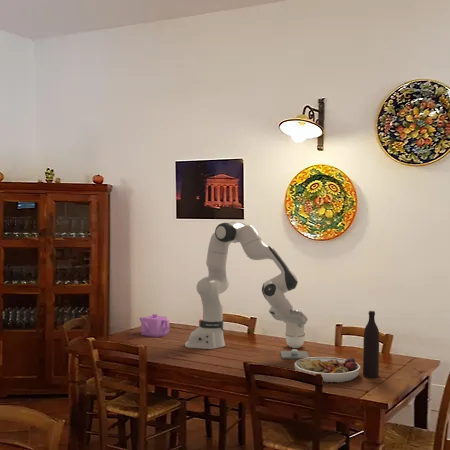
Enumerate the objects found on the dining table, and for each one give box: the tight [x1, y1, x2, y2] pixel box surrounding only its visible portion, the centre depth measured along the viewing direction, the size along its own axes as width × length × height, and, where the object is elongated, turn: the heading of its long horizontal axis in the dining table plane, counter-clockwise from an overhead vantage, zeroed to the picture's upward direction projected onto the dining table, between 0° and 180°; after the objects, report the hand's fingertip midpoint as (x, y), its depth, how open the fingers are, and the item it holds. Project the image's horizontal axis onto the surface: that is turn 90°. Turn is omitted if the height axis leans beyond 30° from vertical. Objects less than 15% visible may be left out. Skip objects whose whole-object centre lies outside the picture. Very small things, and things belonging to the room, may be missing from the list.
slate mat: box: [280, 348, 310, 360], centre depth 316 cm, size 14×14×3 cm
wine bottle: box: [362, 310, 380, 379], centre depth 279 cm, size 7×7×30 cm
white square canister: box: [285, 322, 305, 337], centre depth 316 cm, size 7×7×11 cm
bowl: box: [294, 356, 361, 383], centre depth 281 cm, size 30×30×8 cm
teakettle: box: [139, 313, 170, 338], centre depth 367 cm, size 17×17×12 cm
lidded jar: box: [285, 332, 306, 349], centre depth 337 cm, size 11×11×9 cm
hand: (295, 325), depth 316 cm, fingers closed on white square canister, 7 cm apart
